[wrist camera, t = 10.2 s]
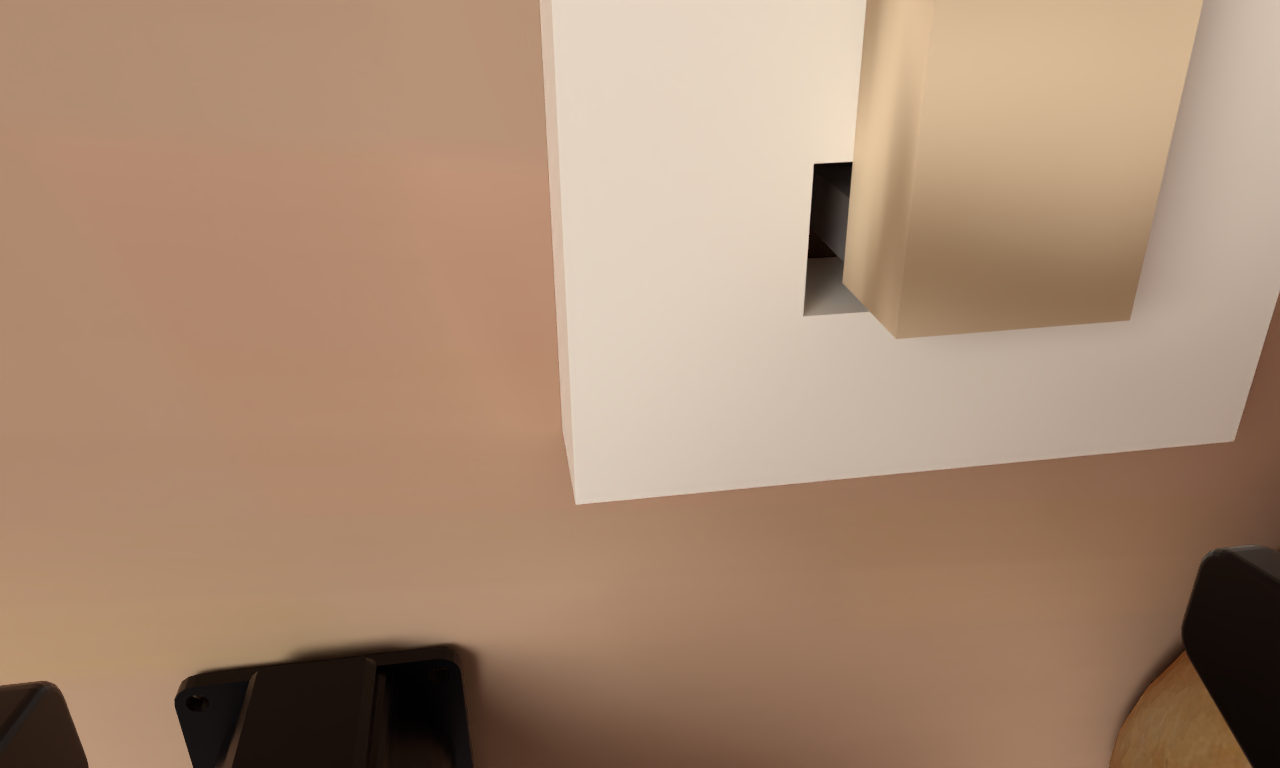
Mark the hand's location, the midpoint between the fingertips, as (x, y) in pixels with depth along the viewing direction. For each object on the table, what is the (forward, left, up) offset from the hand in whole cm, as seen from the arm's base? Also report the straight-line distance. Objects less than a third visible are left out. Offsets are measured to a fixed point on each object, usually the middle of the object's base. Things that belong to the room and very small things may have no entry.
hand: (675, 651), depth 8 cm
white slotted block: (0, -7, -13) cm, 15 cm away
